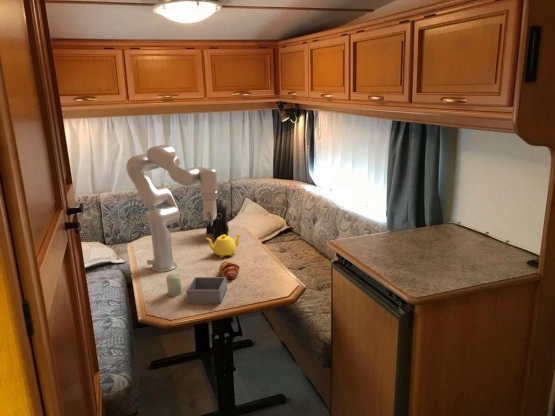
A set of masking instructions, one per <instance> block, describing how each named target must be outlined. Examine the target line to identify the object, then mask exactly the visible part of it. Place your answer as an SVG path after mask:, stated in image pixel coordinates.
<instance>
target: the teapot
mask: <svg viewBox="0 0 555 416" xmlns="http://www.w3.org/2000/svg"><path fill="white" fill-rule="evenodd" d="M241 234H242V232H239V233H237V235H236V237H235V240H234V238H232V237H231V236H229V235H228V236H226V235H222V236H220V237H218V238H217V239H216V241H214V243H213V241H212V239H211V238H209V237H206V238H205V239H206V240H208V243H209V249H210V250H211V251H212V252H213V253H214V254H215V255H216V256H219V258H220V259H223V258H224V257H226V256H229V257H233V256H234V254H235V252H236V251H237V247H238V246H239V244H240V235H241Z"/></svg>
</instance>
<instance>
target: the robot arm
mask: <svg viewBox="0 0 555 416" xmlns="http://www.w3.org/2000/svg"><path fill="white" fill-rule="evenodd" d="M175 151H176V150H175V149H174V147H173V146H171V145H169V144H160V145H154V146H151V147H150V148H149V149H148V150H147V151H146V153H144V154H137V155H134V156H132V157H130V158H129V159H128V160H127V162H126V172H127V175H128V177H129V178H130V180H131V182H132V183H133V185H134V187H135V188H136V191H137V194H138V195H139V198H140V199H141V201H142V204H143V206H144V207H146V208H147V209H153V208H156V209H153V210H152V211H149V213H148V215H147V221H148V225H149V229H150V235H151V241H152V242H151V243H152V253H153V258H152V259H147V260H146V263H147V265H149V266H151V265H152V266H151V270H152V271H154V272H158V273H165V272H170V271H172V270H175V269H176V268H177V265H178V264H177V263H176V262H175V261H174V257H173V256H174V255H173V247H172V245H173V244H172V237H171V231H169V229H168V227H167V226H169V225H172V224H174V223H177V222H178V221H179V219H180V218H181V212H180V209H179V207H178V205H177V203H176V201H175V198H174V196H173V194H172V192H171V191H170V189H169V188H168V187H166V186H163V185H162V186H157V187H156V186H154V183H153V181H152V179H151V178H150V176H149V175H147V174H146V173H144V172H147V171H153V170H158V169H159V168H162V169H163V170H165V171H167V173H168V176H169V177H170V179H172V181H173V182H175V183H177V184H178V185H181V186H184V187H191V186H193V185H197V184H200V196H201V200H202V214H203V215H202V216H203V217H202V218H203V221H204V222H205V231H206V235H211V234H214V231H213V228H217V220H216V216H217V207H216V199H218V195H219V192H218V181H217V171H216V169H214V168H206V167H202V166H195V167H191V168H187V169H184V168H182V167H180V164H181V159H180V157H179V156H178V155H176V152H175ZM160 206H161V207H160ZM157 207H159V208H157Z"/></svg>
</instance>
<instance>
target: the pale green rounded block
mask: <svg viewBox="0 0 555 416" xmlns="http://www.w3.org/2000/svg"><path fill="white" fill-rule="evenodd" d="M165 278H166V287H167V293H168V294H167V295H168V296H170V297H177V296H179V295H181V294H182V283H181V282H182V281H181V275H180V274H177V273H174V274H170V275H167V276H166V277H165Z"/></svg>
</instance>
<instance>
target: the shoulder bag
mask: <svg viewBox="0 0 555 416" xmlns="http://www.w3.org/2000/svg"><path fill="white" fill-rule="evenodd" d="M216 207H217V216H216V220H217V228H213V231H214V234H210V235H211V237H212V239H213V242H215V241H216V239H217V238H218V237H220V236H222V235H226V236H229V231H230V229H229V226H228V224H229V223H228V215H227V204H226V203H225V201H224V200H223V199H220V196H219V194H218V199H216Z"/></svg>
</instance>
